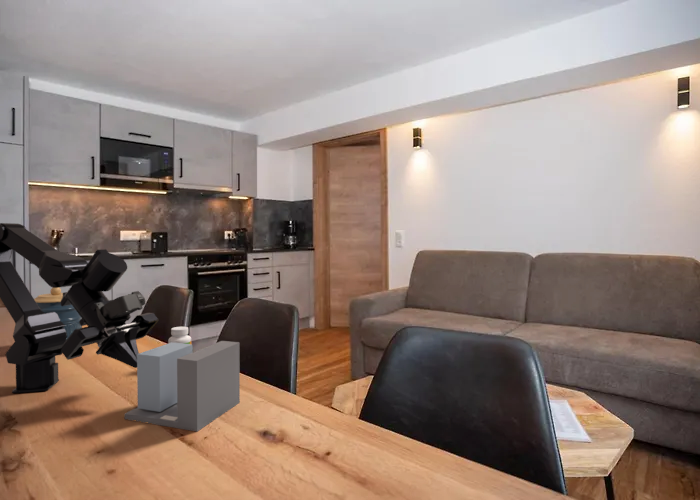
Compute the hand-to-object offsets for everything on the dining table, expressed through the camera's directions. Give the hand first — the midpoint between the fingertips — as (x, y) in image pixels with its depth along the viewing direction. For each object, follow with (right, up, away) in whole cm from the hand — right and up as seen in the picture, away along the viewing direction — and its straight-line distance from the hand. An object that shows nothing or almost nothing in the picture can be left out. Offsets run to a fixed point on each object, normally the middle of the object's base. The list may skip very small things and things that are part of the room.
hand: (138, 366), depth 83 cm
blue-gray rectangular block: (+6, -6, -2) cm, 9 cm away
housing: (+10, -8, -3) cm, 13 cm away
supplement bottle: (-1, -7, +24) cm, 25 cm away
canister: (-45, -6, +42) cm, 62 cm away
